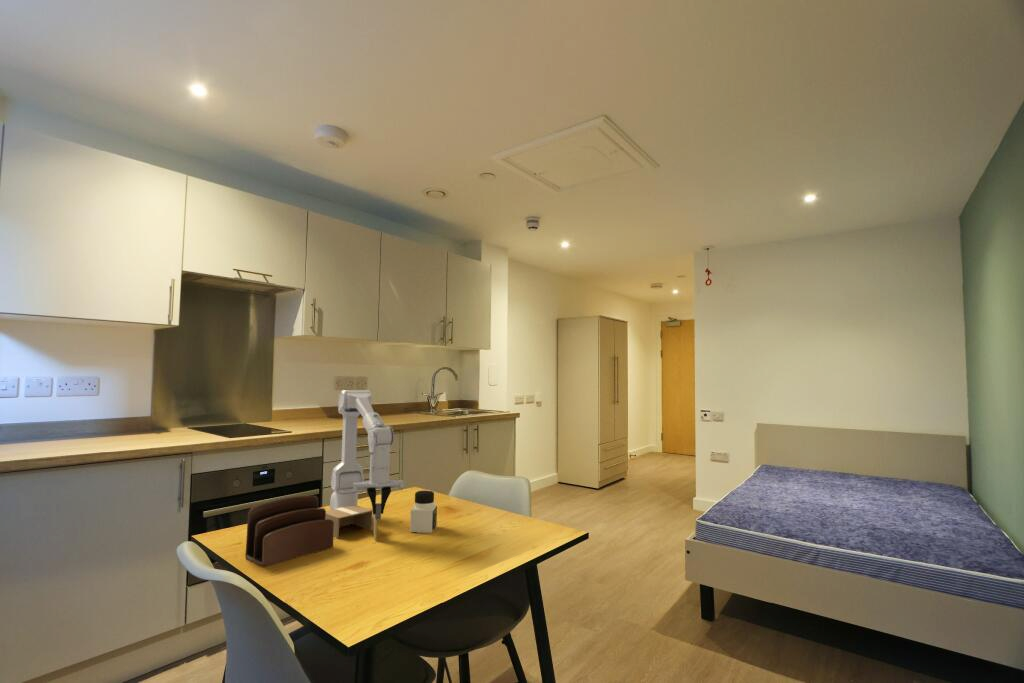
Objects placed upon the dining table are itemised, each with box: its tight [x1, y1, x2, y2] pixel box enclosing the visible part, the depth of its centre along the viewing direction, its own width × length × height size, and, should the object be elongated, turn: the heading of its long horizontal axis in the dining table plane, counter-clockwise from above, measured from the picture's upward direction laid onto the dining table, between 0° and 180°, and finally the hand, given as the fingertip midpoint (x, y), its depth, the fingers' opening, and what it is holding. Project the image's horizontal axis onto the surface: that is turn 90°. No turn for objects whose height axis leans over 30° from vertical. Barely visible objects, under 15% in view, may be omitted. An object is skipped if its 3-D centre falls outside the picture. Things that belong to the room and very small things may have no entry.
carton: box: [325, 504, 373, 539], centre depth 154 cm, size 10×12×6 cm
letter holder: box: [245, 495, 334, 568], centre depth 134 cm, size 10×20×14 cm, turn 141°
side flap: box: [372, 502, 382, 541], centre depth 150 cm, size 2×12×10 cm, turn 19°
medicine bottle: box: [409, 489, 438, 534], centre depth 156 cm, size 7×7×12 cm
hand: (378, 513), depth 147 cm, fingers closed on side flap, 2 cm apart
